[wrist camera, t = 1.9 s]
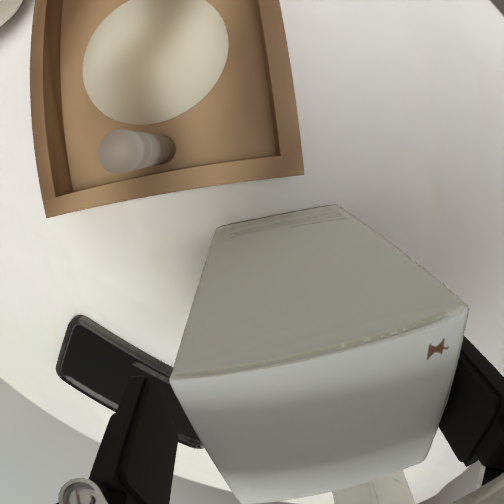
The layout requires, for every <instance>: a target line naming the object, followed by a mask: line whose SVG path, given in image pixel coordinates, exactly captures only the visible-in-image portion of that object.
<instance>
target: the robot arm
mask: <svg viewBox="0 0 504 504" xmlns="http://www.w3.org/2000/svg"><path fill="white" fill-rule="evenodd" d="M439 428H440V430H441V431H442V433H443V435H444V436H445V438H446V440H447V441H448V443H449V445H450V446H451V448H452V450H453V452H454V453H455V455H456V457H457V458H458V460H459V461H460V462H464V464H465V466H466V467H467V466H469V465H471V464H473V463H475V462H476V461H478V460H479V461H480V462H481V469H480V474H479V477H478V482H477V486H476V489H475V491H473V492H471V493H470V494H468V495H466V496H464V497H462V498H460V499H458V500H457V501H454V502H453V503H451V504H504V377H503V376H502V375H501V374H500V373H499V372H498V371H497V369H496V368H495V367H494V366H493V365H492V364H491V363H490V362H489V361H488V360H487V359H486V358H485V357H484V356H483V355H482V354H481V353H480V352H479V351H478V350H477V349H476V347H475V346H474V345H473V344H472V343H471V342H470V341H469V340H468V339H467V338H466V337H465V336H463V341H462V346H461V350H460V355H459V359H458V363H457V367H456V371H455V375H454V379H453V382H452V386H451V389H450V393H449V398H448V401H447V404H446V406H445V409H444V412H443V415H442V417H441V420H440V423H439ZM177 444H178V431H177V429H176V426H175V424H174V422H173V420H172V418H171V416H170V414H169V411H168V409H167V407H166V405H165V402H164V400H163V398H162V395H161V393H160V391H159V388H158V386H157V384H156V382H155V380H151V379H150V377H149V376H131V377H130V378H129V380H128V383H127V385H126V388H125V390H124V393H123V396H122V398H121V401H120V404H119V406H118V409H117V411H116V413H114V414H113V415H112V416H111V418H110V420H109V423H108V425H107V428H106V431H105V434H104V436H103V439H102V442H101V445H100V447H99V450H98V453H97V456H96V459H95V462H94V465H93V468H92V471H91V474H90V477H89V479H85V478H76V479H72V480H70V481H68V482H67V483H65V484H64V485H63V486H62V488H61V490H60V492H59V497H58V500H59V502H58V503H56V504H169V501H170V493H171V486H172V479H173V471H174V464H175V457H176V451H177Z"/></svg>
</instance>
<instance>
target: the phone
mask: <svg viewBox="0 0 504 504" xmlns="http://www.w3.org/2000/svg"><path fill="white" fill-rule="evenodd" d="M172 371H173V368H172V367H171V366H169V365H167V364H165V363H163V362H161V361H159V360H158V359H156V358H154V357H152V356H150V355H149V354H147V353H145V352H143V351H142V350H140V349H138V348H136V347H135V346H133V345H131V344H130V343H128V342H126V341H124V340H123V339H121V338H120V337H118V336H116V335H115V334H113V333H111V332H110V331H108V330H107V329H105V328H104V327H102V326H100V325H99V324H97V323H96V322H94V321H93V320H91V319H90V318H88V317H86V316H83V315H77V316H75V317H74V318H73V319H72V320H71V321H70V323H69V324H68V327H67V330H66V333H65V337H64V340H63V343H62V347H61V350H60V354H59V357H58V361H57V364H56V372H57V374H58V376H59V377H60V378H61V379H62V380H63V381H65V382H66V383H68V384H69V385H71V386H72V387H74V388H75V389H77V390H78V391H80V392H82V393H83V394H85V395H87V396H88V397H90V398H92V399H93V400H95V401H97V402H98V403H100V404H102V405H104V406H105V407H107V408H109V409H111V410H113V411H114V412H116V411H117V409H118V406H119V404H120V401H121V398H122V396H123V393H124V390H125V388H126V385H127V383H128V380H129V378H130V377H131V376H149V377H150V379H151V380H155V382H156V384H157V386H158V388H159V391H160V393H161V395H162V398H163V400H164V402H165V405H166V407H167V409H168V411H169V414H170V416H171V418H172V420H173V422H174V424H175V426H176V429H177V431H178V442H179V443H182V444H184V445H187V446H189V447H192V448H197V449H202V448H205V447H204V446H203V444H202V442H201V441H200V439H199V437H198V435H197V434H196V432H195V430H194V428H193V426H192V424H191V423H190V421H189V419H188V417H187V415H186V413H185V412H184V410H183V408H182V406H181V404H180V402H179V400H178V398H177V396H176V395H175V393H174V391H173V389H172V386H171V384H170V376H171V374H172Z"/></svg>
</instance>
